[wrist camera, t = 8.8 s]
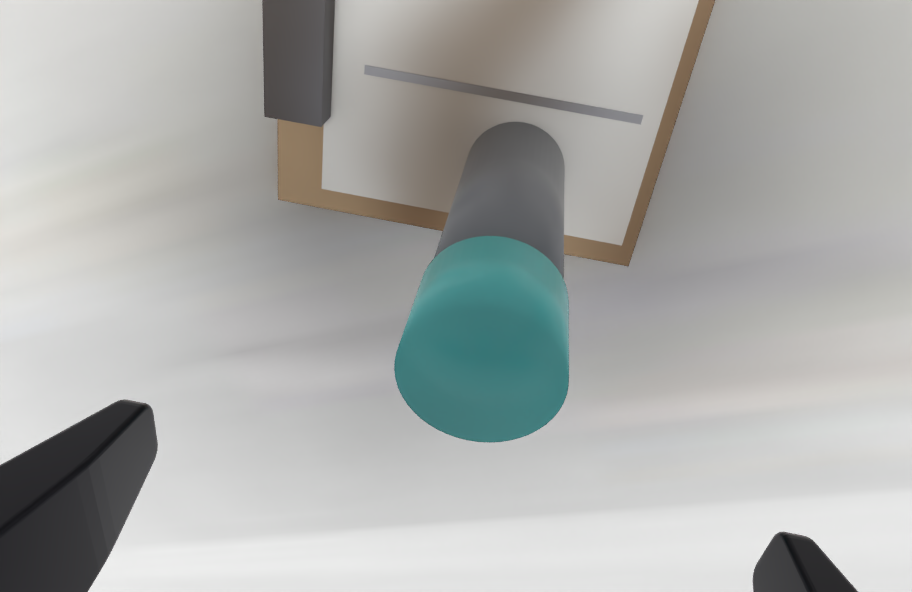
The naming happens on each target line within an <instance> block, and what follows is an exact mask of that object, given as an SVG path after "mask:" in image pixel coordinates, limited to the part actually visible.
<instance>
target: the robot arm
mask: <svg viewBox="0 0 912 592" xmlns="http://www.w3.org/2000/svg"><path fill="white" fill-rule="evenodd" d="M157 447H158V444H157V436H156V429H155V422H154V415H153V410H152V408H151V407H150V406H149V405H148V404H146V403H141V402H136V401H131V400H120V401H117V402H115V403H113V404H111V405H109V406H107V407H106V408H104V409H102V410H100V411H98V412H97V413H95V414H93V415H91V416H89V417H87V418H86V419H84V420H82V421H80V422H78V423H76V424H75V425H73V426H71V427H69V428H67V429H65V430H64V431H62V432H60V433H58V434H56V435H54V436H53V437H51V438H49V439H47V440H45V441H43V442H42V443H40V444H38V445H36V446H34V447H32V448H31V449H29V450H27V451H25V452H23V453H22V454H20V455H18V456H16V457H14V458H12V459H11V460H9V461H7V462H5V463H3V464H1V465H0V592H88V590H89V589H90V587H91V585H92V584H93V582H94V580H95V579H96V577H97V575H98V574H99V572H100V570H101V569H102V567H103V565H104V564H105V562H106V560H107V558H108V557H109V555H110V553H111V551H112V549H113V547H114V545H115V543H116V541H117V539H118V537H119V534H120V532H121V530H122V528H123V526H124V524H125V522H126V520H127V517H128V515H129V513H130V511H131V509H132V507H133V505H134V503H135V500H136V498H137V496H138V494H139V492H140V490H141V488H142V486H143V483H144V481H145V479H146V477H147V475H148V473H149V471H150V469H151V466H152V464H153V462H154V460H155V457H156V454H157ZM753 591H754V592H858V591H857V590H856V589H855V588H854V587H853V585H852V584H851V583H850V582H849V581H848V580H847V579H846V577H845V576H844V575H843V574H842V573H841V572H840V571H839V569H838V568H837V567H836V566H835V565H834V564H833V562H832V561H831V560H830V559H829V558H828V557H827V556H826V554H825V553H824V552H823V551H822V550H821V549H820V548H819V546H818V545H817V544H816V543H815V542H814V541H813V540H812V539H810V538H808V537H806V536H802V535H797V534H792V533H787V532H779V533H777V534H776V535H775V536H774V537H773V539H772V540H771V542H770V543H769V545H768V547H767V548H766V550H765V551H764V553H763V555H762V556H761V558H760V559H759V561H758V563H757V564H756V567H755V569H754V574H753Z"/></svg>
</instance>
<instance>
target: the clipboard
mask: <svg viewBox="0 0 912 592" xmlns="http://www.w3.org/2000/svg"><path fill="white" fill-rule="evenodd" d="M714 3H715V0H263V57H264V113H265V117H269V118H275V119H278V200H282V201H288V202H293V203H298V204H304V205H309V206H314V207H319V208H325V209H330V210H335V211H340V212H346V213H351V214H356V215H361V216H367V217H372V218H377V219H382V220H388V221H393V222H398V223H403V224H409V225H414V226H419V227H424V228H430V229H435V230H440V231H443V230H444V227H445V224H446V221H447V218H448V215H449V212H450V209H451V206H452V203H453V200H454V197H455V194H456V191H457V188H458V185H459V182H460V179H461V176H462V173H463V170H464V167H465V164H466V161H467V158H468V155H469V152H470V149H471V148H472V146H473V144H474V143H475V141H476V140H477V139H478V138H479V136H480V135H481V134H483V133H484V132H485V131H487V130H488V129H490V128H492V127H494V126H496V125H498V124H502V123H507V122H524V123H528V124H532V125H534V126H537V127H539V128H541V129H542V130H544V131H545V132H547V133H548V134H549V135H550V136H551V137H552V138H553V139H554V140H555V141H556V143H557V144H558V146H559V148H560V150H561V152H562V155H563V159H564V165H565V180H564V254H567V255H572V256H577V257H582V258H588V259H593V260H598V261H603V262H609V263H614V264H619V265H624V266H629V263H630V260H631V257H632V254H633V251H634V247H635V244H636V241H637V238H638V235H639V232H640V229H641V226H642V223H643V220H644V217H645V214H646V211H647V208H648V205H649V202H650V198H651V195H652V192H653V189H654V186H655V183H656V180H657V177H658V174H659V171H660V168H661V165H662V162H663V159H664V156H665V153H666V149H667V146H668V143H669V140H670V137H671V134H672V131H673V128H674V125H675V122H676V119H677V116H678V113H679V110H680V107H681V104H682V101H683V97H684V94H685V91H686V88H687V85H688V82H689V79H690V76H691V73H692V70H693V67H694V64H695V61H696V58H697V55H698V52H699V48H700V45H701V42H702V39H703V36H704V33H705V30H706V27H707V24H708V21H709V18H710V15H711V12H712V9H713V6H714Z"/></svg>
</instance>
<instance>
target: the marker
mask: <svg viewBox="0 0 912 592" xmlns="http://www.w3.org/2000/svg"><path fill="white" fill-rule="evenodd" d="M564 180H565V165H564V159H563V155H562V152H561V150H560V148H559V146H558V144H557V143H556V141H555V140H554V139H553V138H552V137H551V136H550V135H549V134H548V133H547V132H545V131H544V130H542V129H541V128H539V127H537V126H534V125H532V124H528V123H524V122H507V123H502V124H498V125H496V126H494V127H492V128H490V129H488V130H487V131H485V132H484V133H483V134H481V135H480V136H479V138H478V139H477V140H476V141H475V143H474V144H473V146H472V148H471V149H470V152H469V155H468V158H467V161H466V164H465V167H464V170H463V173H462V176H461V179H460V182H459V185H458V188H457V191H456V194H455V197H454V200H453V203H452V206H451V209H450V212H449V215H448V218H447V221H446V224H445V227H444V230H443V233H442V236H441V239H440V242H439V245H438V248H437V251H436V254H435V257H434V259H433V260H432V261H431V263H430V264H429V265H428V267H427V269H426V271H425V272H424V275H423V277H422V280H421V283H420V286H419V289H418V292H417V295H416V297H415V300H414V303H413V306H412V309H411V312H410V315H409V318H408V321H407V324H406V326H405V329H404V332H403V335H402V338H401V341H400V344H399V347H398V350H397V353H396V357H395V368H394V371H395V378H396V382H397V385H398V388H399V391H400V393H401V395H402V397H403V398H404V400H405V401H406V403H407V404H408V406H409V407H410V408H411V409H412V410H413V411H414V412H415V413H416V414H417V415H418V416H419V417H420V418H421V419H422V420H424V421H425V422H426V423H428V424H429V425H431V426H433V427H434V428H436V429H438V430H440V431H442V432H444V433H446V434H449V435H451V436H454V437H457V438H461V439H465V440H470V441H477V442H502V441H509V440H513V439H517V438H521V437H523V436H526V435H529V434H531V433H533V432H535V431H537V430H538V429H540V428H541V427H543V426H544V425H546V424H547V423H548V422H549V421H550V420H551V419H552V418H553V417H554V416H555V415H556V414H557V413H558V411H559V410H560V408H561V406H562V405H563V403H564V400H565V398H566V395H567V390H568V383H569V300H568V292H567V288H566V285H565V282H564Z"/></svg>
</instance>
